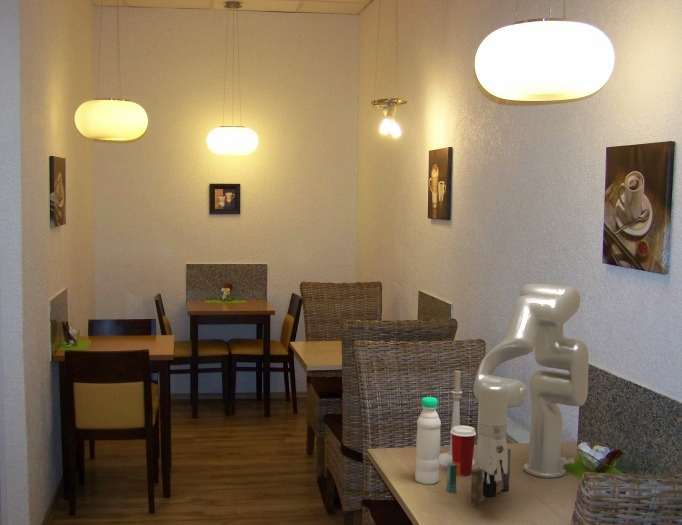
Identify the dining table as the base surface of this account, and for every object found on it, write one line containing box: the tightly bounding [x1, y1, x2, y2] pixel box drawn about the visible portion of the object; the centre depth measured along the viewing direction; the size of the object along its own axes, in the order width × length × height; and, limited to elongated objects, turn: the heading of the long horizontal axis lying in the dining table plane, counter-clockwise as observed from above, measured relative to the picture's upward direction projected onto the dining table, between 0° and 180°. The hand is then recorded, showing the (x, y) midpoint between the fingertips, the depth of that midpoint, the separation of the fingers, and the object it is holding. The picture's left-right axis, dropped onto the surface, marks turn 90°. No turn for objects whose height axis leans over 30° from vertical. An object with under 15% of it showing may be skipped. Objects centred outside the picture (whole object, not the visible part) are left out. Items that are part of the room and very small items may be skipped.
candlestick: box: [439, 370, 476, 469], centre depth 259 cm, size 13×13×30 cm
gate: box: [470, 466, 504, 505], centre depth 228 cm, size 16×2×9 cm, turn 141°
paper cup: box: [449, 425, 477, 477], centre depth 250 cm, size 8×8×14 cm
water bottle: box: [414, 396, 442, 485], centre depth 242 cm, size 7×7×25 cm
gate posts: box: [446, 447, 512, 494], centre depth 235 cm, size 18×3×12 cm, turn 99°
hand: (489, 496), depth 219 cm, fingers closed
